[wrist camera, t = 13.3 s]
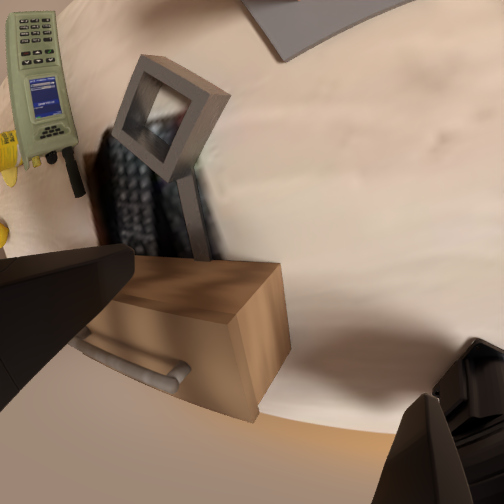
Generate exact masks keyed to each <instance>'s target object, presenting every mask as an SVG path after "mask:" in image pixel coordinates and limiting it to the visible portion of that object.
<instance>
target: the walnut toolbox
mask: <svg viewBox="0 0 504 504" xmlns="http://www.w3.org/2000/svg"><path fill="white" fill-rule="evenodd" d="M67 344H69V345H70V346H72V347H74V348H76V349H77V350H79V351H81V352H82V353H83V354H84V355H86V356H88V357H90V358H92V359H94V360H95V361H97V362H100V363H101V364H103V365H105V366H107V367H109V368H111V369H113V370H115V371H117V372H119V373H122V374H123V375H125V376H128V377H130V378H132V379H134V380H137V381H138V382H141V383H143V384H145V385H148V386H150V387H152V388H154V389H157V390H159V391H162V392H164V393H167V394H169V395H171V396H174V397H176V398H179V399H182V400H184V401H187V402H189V403H192V404H195V405H198V406H200V407H203V408H206V409H209V410H212V411H215V412H218V413H221V414H224V415H227V416H230V417H233V418H237V419H240V420H244V421H247V422H250V423H254V421H255V420H256V418H257V416H258V415H259V409H258V404H259V403H260V401H261V399H262V398H263V396H264V394H265V393H266V391H267V389H268V388H269V386H270V385H271V383H272V381H273V379H274V378H275V376H276V374H277V373H278V371H279V369H280V368H281V366H282V364H283V362H284V361H285V359H286V357H287V355H288V354H289V352H290V350H291V344H290V335H289V327H288V319H287V311H286V303H285V295H284V287H283V280H282V272H281V265H280V263H261V262H242V261H224V260H212V261H211V262H204V261H195V260H194V259H188V258H171V257H155V256H138V255H135V272H134V275H133V277H132V278H131V279H130V281H129V282H128V283H127V284H126V285H125V286H124V287H123V288H122V289H121V290H120V292H119V293H118V294H117V295H116V296H115V297H114V298H113V299H112V300H111V302H110V303H109V304H108V305H107V306H106V307H105V308H104V309H103V310H102V311H101V312H100V313H99V314H98V315H97V316H96V317H95V318H94V319H93V320H92V321H91V322H90V323H89V324H87V325H86V326H85V327H84V328H83V329H82V330H81V331H80V332H79V333H78V334H77V335H76V336H75V337H74V338H73V339H72V340H71V341H70V342H68V343H67Z"/></svg>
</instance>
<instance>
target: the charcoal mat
mask: <svg viewBox="0 0 504 504" xmlns="http://www.w3.org/2000/svg"><path fill="white" fill-rule="evenodd" d="M241 1H242V2H243V4H244V5H245V6H246V8H247V9H248V10H249V12H250V13H251V15H252V16H253V17H254V19H255V20H256V21H257V23H258V24H259V26H260V27H261V28H262V30H263V31H264V33H265V34H266V36H267V37H268V38H269V40H270V41H271V43H272V44H273V46H274V47H275V49H276V50H277V52H278V53H279V55H280V56H281V58H282V59H283V61H285V62H288V61H290V60H292V59H293V58H295V57H297V56H299V55H300V54H302V53H304V52H306V51H307V50H309V49H311V48H313V47H315V46H316V45H318V44H320V43H322V42H324V41H326V40H328V39H329V38H331V37H333V36H335V35H337V34H339V33H341V32H343V31H345V30H347V29H349V28H351V27H353V26H355V25H357V24H360V23H362V22H364V21H366V20H368V19H370V18H373V17H375V16H377V15H380V14H382V13H384V12H387V11H389V10H391V9H394V8H396V7H399V6H401V5H404V4H406V3H409V2H412V1H414V0H300V1H298V0H241Z"/></svg>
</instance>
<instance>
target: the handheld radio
mask: <svg viewBox="0 0 504 504" xmlns="http://www.w3.org/2000/svg"><path fill="white" fill-rule="evenodd" d="M6 59H7V71H8V82H9V91H10V99H11V106H12V113H13V119H14V124H15V130H16V135H17V140H18V145H19V149H20V154H21V158H22V161H23V164H24V167H25V170H26V171H27V170H28V169H29V161H30V160H32V163H33V167H34V168H36V167H38V166H40V165H41V161H40V157H43V156H45V157H46V159H47V162H48V163H49V164H54V163H55V162H56V161H57V152H60V151H62V155H63V157H64V158H65V162H66V167H67V171H68V175H69V178H70V182H71V185H72V189H73V192H74V195H75V198H79V197H82V196H83V195H85V194H86V192H85V189H84V186H83V183H82V180H81V176H80V173H79V170H78V166H77V163H76V160H74V156H73V153H74V152H73V147H74V146H76V145H77V144H78V138H77V134H76V130H75V126H74V122H73V118H72V114H71V109H70V105H69V100H68V95H67V90H66V85H65V80H64V74H63V69H62V63H61V56H60V50H59V42H58V34H57V26H56V14H55V11H30V12H14V13H10V14H9V16H8V18H7V20H6ZM54 153H55V154H54Z"/></svg>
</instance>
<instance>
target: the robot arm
mask: <svg viewBox="0 0 504 504" xmlns="http://www.w3.org/2000/svg"><path fill="white" fill-rule="evenodd" d="M134 272H135V252H134V249H133V248H131V247H129V246H128V245H126V244H123V243H122V244H113V245H105V246H97V247H89V248H81V249H73V250H65V251H58V252H50V253H43V254H36V255H28V256H21V257H14V258H7V259H0V412H1V411H2V410H3V409H4V408H5V407H6V405H7V404H8V403H9V402H10V401H11V400H12V399H13V398H14V397H15V396H16V395H17V394H18V393H19V391H20V390H21V389H22V388H23V387H24V386H25V385H26V384H27V383H28V382H29V381H30V380H31V379H32V378H33V377H34V376H35V375H36V374H37V373H38V372H39V371H40V370H41V369H42V368H43V367H44V366H45V365H46V364H47V363H48V362H49V361H50V360H51V359H52V358H53V357H54V356H55V355H56V354H57V353H58V352H59V351H60V350H61V349H62V348H63V347H64V346H65V345H66V344H67V343H68V342H70V341H71V340H72V339H73V338H74V337H75V336H76V335H77V334H78V333H79V332H80V331H81V330H82V329H83V328H84V327H85V326H86V325H87V324H89V323H90V322H91V321H92V320H93V319H94V318H95V317H96V316H97V315H98V314H99V313H100V312H101V311H102V310H103V309H104V308H105V307H106V306H107V305H108V304H109V303H110V302H111V300H112V299H113V298H114V297H115V296H116V295H117V294H118V293H119V292H120V290H121V289H122V288H123V287H124V286H125V285H126V284H127V283H128V282H129V281H130V279H131V278H132V277H133V275H134ZM479 345H480V347H477V346H479ZM437 391H439V392H437ZM432 395H433V396H432ZM432 395H430V394H427V393H424V394H422V395H421V396H420V397H419V398H418V399H417V400H416V401H415V402H414V403H413V404H411V405H410V406H409V407H408V408H407V410H406V411H405V412H404V414H403V417H402V419H401V422H400V425H399V428H398V431H397V433H396V436H395V439H394V441H393V444H392V446H391V449H390V452H389V454H388V456H387V459H386V462H385V464H384V467H383V470H382V474H381V477H380V480H379V483H378V486H377V489H376V492H375V495H374V497H373V500H372V503H371V504H504V351H503V350H501V349H499V348H497V347H495V346H493V345H491V344H489V343H487V342H485V341H483V340H480V339H479V340H476V341H474V342H473V344H472V345H471V346H470V347H469V349H468V350H467V351H466V352H465V353H464V355H463V356H462V357H461V358H460V359H459V360H458V361H457V362H456V363H455V364H454V365H453V366H452V367H451V368H450V370H449V371H448V372H447V373H446V374H445V375H444V376H443V377H442V378H441V379H440V382H439V383H438V384H437V385H436V386H435V387H434V388H433V390H432ZM437 398H439V399H440V400H439V401H438V399H437Z"/></svg>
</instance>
